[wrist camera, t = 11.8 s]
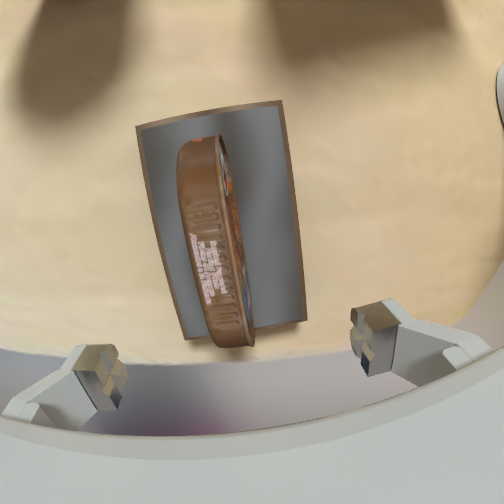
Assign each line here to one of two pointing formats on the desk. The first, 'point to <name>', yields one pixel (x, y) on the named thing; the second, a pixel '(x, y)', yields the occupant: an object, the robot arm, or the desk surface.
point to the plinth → (248, 204)
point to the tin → (215, 240)
